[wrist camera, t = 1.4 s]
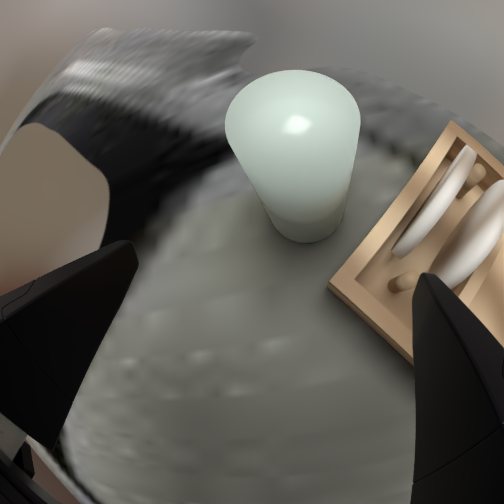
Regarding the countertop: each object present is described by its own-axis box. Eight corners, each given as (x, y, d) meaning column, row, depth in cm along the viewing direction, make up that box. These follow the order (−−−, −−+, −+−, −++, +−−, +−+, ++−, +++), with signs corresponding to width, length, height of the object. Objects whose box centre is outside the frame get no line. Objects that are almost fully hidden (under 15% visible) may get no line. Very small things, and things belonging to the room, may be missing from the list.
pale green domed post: (310, 259, 21) (300, 204, 10) (253, 210, 22) (199, 129, 12) (358, 202, 21) (385, 110, 10) (301, 159, 22) (283, 55, 12)
